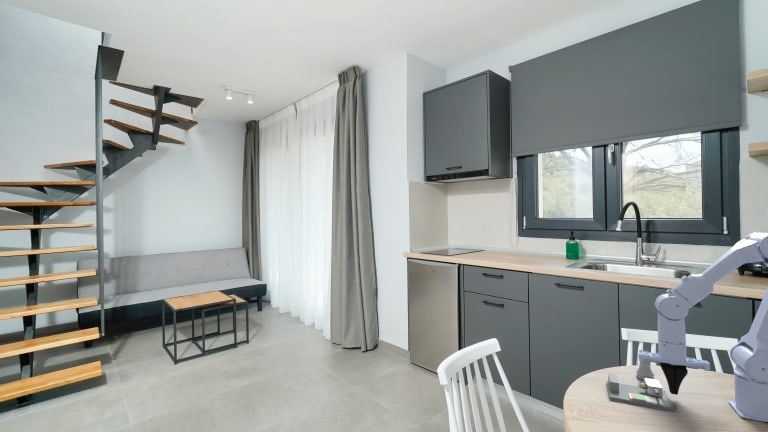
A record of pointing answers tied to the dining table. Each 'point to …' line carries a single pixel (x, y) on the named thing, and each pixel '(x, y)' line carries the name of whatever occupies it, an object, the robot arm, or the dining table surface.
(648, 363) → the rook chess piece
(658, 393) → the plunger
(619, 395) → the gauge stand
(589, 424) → the dining table surface
